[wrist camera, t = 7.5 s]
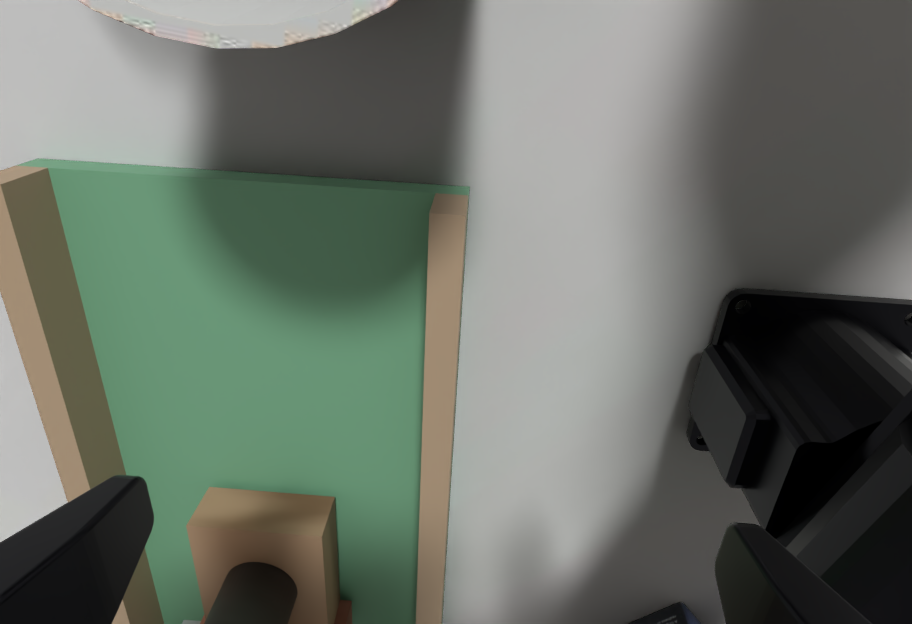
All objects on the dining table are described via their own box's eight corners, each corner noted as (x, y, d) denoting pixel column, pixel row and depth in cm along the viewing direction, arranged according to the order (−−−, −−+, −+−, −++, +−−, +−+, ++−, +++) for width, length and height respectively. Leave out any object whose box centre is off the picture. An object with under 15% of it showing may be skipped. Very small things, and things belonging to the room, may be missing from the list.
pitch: (469, 186, 19) (462, 240, 15) (437, 697, 31) (428, 812, 27) (37, 158, 19) (-98, 202, 15) (172, 674, 32) (119, 783, 27)
